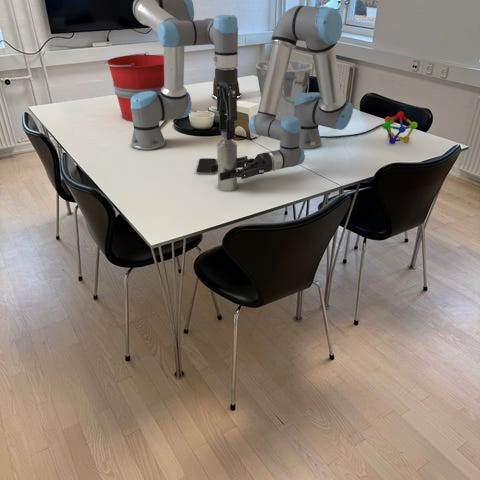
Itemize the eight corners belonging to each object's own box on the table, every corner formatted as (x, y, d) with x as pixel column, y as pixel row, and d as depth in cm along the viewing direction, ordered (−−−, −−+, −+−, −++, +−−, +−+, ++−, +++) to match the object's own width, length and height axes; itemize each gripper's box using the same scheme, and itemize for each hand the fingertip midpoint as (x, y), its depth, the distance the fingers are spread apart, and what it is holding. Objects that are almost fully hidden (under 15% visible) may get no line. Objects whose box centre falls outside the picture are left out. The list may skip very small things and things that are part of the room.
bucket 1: (121, 106, 263) (114, 51, 247) (180, 106, 262) (176, 52, 246) (104, 123, 233) (95, 63, 217) (170, 124, 232) (166, 64, 216)
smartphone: (196, 172, 178) (199, 158, 191) (196, 173, 178) (199, 159, 191) (214, 172, 178) (216, 158, 191) (214, 174, 178) (216, 159, 191)
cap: (223, 138, 156) (223, 132, 154) (220, 135, 159) (220, 129, 158) (233, 137, 157) (233, 131, 156) (230, 134, 160) (230, 128, 159)
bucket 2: (281, 130, 226) (284, 73, 211) (242, 117, 244) (243, 64, 230) (319, 119, 242) (324, 65, 228) (280, 107, 261) (283, 57, 246)
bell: (227, 105, 294) (202, 96, 282) (238, 66, 289) (213, 55, 277) (243, 108, 280) (217, 98, 268) (255, 66, 275) (229, 55, 263)
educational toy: (377, 146, 209) (379, 114, 202) (384, 138, 219) (386, 107, 211) (411, 149, 202) (415, 116, 195) (417, 141, 212) (420, 109, 204)
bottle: (239, 189, 167) (240, 134, 155) (222, 192, 164) (221, 136, 153) (232, 182, 172) (232, 128, 161) (215, 185, 170) (214, 130, 158)
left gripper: (206, 63, 152) (208, 129, 164) (225, 74, 137) (226, 146, 149) (226, 61, 154) (227, 127, 166) (248, 72, 139) (247, 143, 151)
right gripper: (282, 180, 167) (228, 192, 157) (254, 162, 181) (204, 172, 172) (283, 161, 163) (227, 173, 153) (255, 144, 177) (203, 154, 168)
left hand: (226, 135), depth 158 cm, fingers open, 6 cm apart
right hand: (215, 173), depth 163 cm, fingers closed on bottle, 7 cm apart
